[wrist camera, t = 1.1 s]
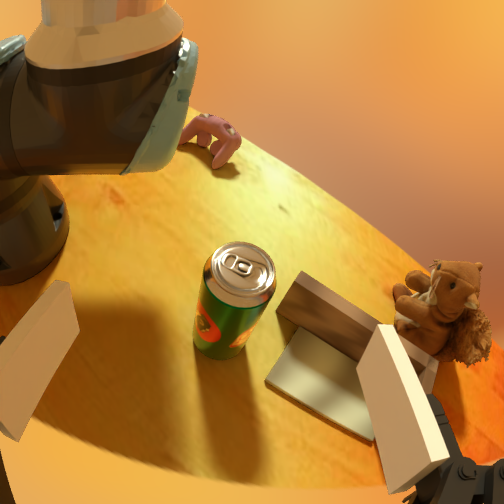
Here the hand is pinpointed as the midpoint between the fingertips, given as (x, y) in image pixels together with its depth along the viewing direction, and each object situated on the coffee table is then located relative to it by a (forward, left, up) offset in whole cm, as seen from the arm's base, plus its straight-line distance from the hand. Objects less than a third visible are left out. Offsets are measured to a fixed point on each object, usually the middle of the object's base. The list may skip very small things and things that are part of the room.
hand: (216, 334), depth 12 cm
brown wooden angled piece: (+10, +10, -16) cm, 22 cm away
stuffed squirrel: (+18, +21, -17) cm, 33 cm away
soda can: (-2, +7, -17) cm, 18 cm away
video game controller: (-22, +30, -17) cm, 41 cm away
